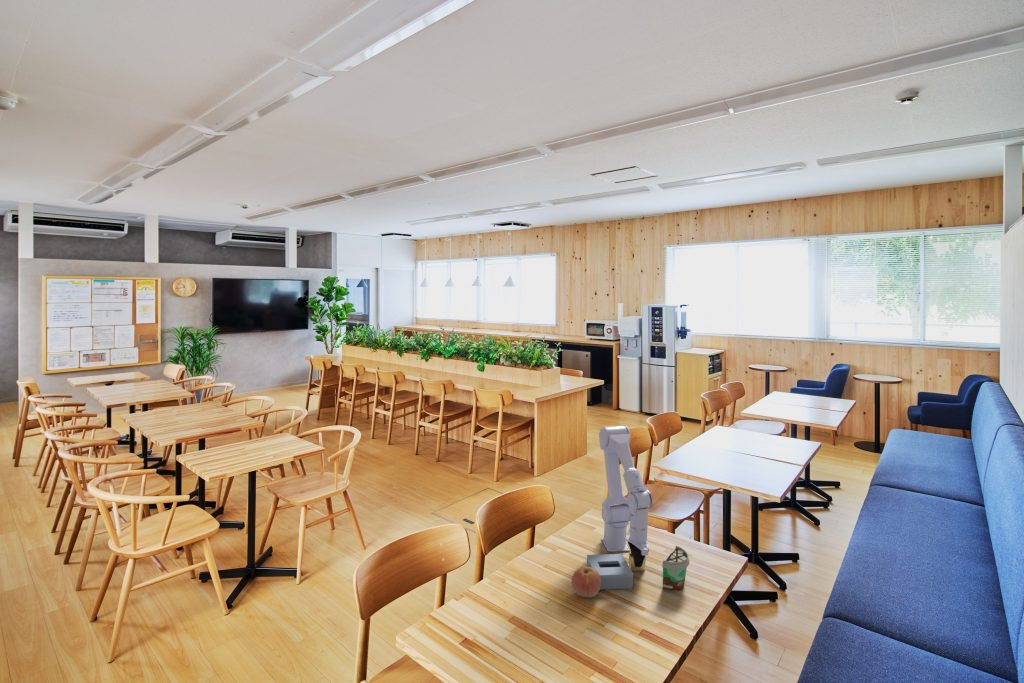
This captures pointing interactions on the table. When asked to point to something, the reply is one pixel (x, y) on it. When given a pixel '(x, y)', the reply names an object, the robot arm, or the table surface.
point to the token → (632, 565)
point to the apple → (586, 582)
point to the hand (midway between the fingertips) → (637, 564)
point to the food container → (675, 570)
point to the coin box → (611, 571)
